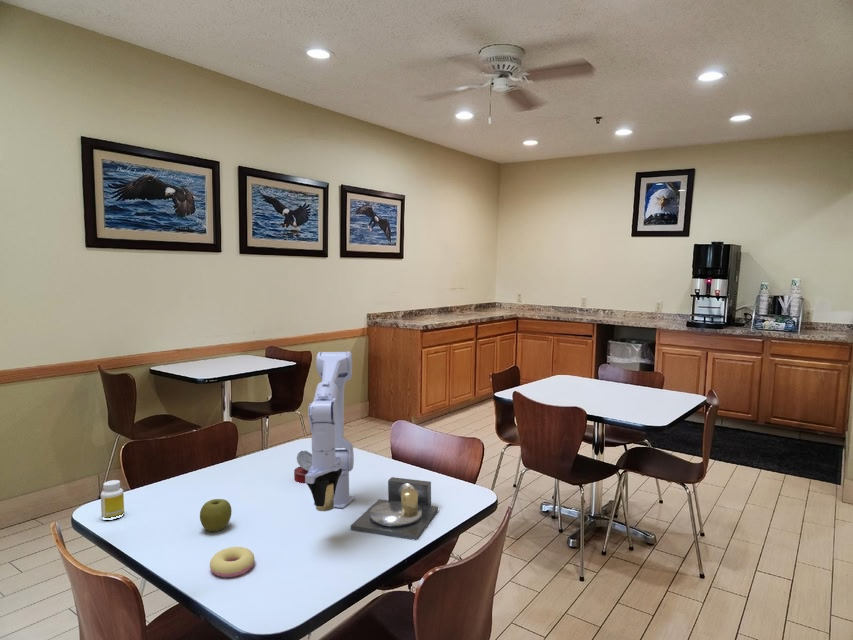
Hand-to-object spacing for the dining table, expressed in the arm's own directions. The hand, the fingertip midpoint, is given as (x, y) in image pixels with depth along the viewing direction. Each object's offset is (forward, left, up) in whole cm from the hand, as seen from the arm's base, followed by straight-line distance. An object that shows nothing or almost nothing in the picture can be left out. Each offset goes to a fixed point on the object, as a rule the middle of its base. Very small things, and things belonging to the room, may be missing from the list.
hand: (324, 501), depth 136 cm
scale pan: (+13, +15, -8) cm, 21 cm away
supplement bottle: (-62, -7, -10) cm, 63 cm away
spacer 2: (+17, +15, -7) cm, 24 cm away
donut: (-13, -19, -10) cm, 25 cm away
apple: (-30, -4, -10) cm, 32 cm away
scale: (+13, +16, -9) cm, 23 cm away
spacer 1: (0, 0, -2) cm, 2 cm away
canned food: (-26, +36, -10) cm, 45 cm away
